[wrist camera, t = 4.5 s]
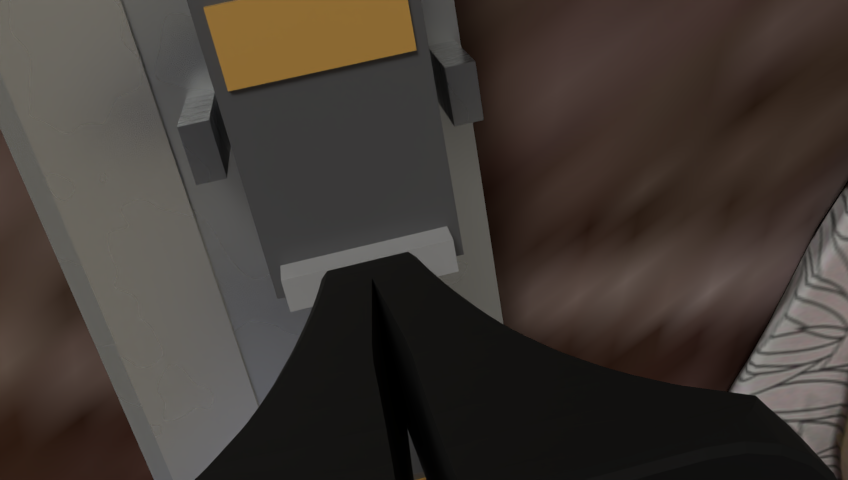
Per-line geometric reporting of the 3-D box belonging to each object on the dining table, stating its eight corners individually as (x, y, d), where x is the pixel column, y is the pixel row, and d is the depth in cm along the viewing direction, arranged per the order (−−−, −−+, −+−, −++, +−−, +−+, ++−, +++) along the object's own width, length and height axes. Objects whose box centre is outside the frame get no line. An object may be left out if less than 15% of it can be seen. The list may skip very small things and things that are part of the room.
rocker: (446, 212, 15) (473, 268, 13) (273, 253, 15) (275, 315, 13) (397, -67, 13) (421, -48, 11) (190, -24, 13) (178, 2, 11)
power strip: (504, 470, 24) (560, 617, 19) (233, 541, 23) (225, 711, 18) (278, -860, 12) (287, -1301, 7) (-293, -787, 11) (-673, -1222, 7)
